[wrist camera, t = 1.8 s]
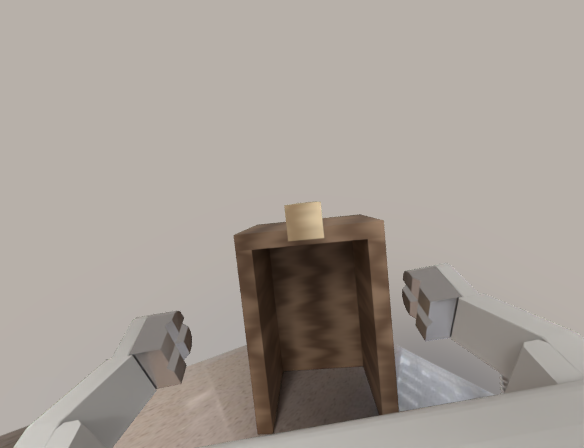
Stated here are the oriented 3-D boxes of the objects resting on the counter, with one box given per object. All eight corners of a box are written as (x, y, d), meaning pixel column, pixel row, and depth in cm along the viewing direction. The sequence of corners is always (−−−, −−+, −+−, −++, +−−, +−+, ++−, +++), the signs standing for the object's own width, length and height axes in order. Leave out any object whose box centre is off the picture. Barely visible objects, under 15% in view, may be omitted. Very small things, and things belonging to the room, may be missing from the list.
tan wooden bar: (288, 241, 23) (284, 205, 23) (299, 220, 47) (297, 203, 46) (324, 237, 23) (320, 201, 22) (316, 219, 46) (314, 201, 46)
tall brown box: (257, 434, 35) (233, 235, 33) (273, 365, 50) (257, 224, 48) (400, 428, 34) (383, 220, 32) (372, 358, 49) (360, 214, 47)
